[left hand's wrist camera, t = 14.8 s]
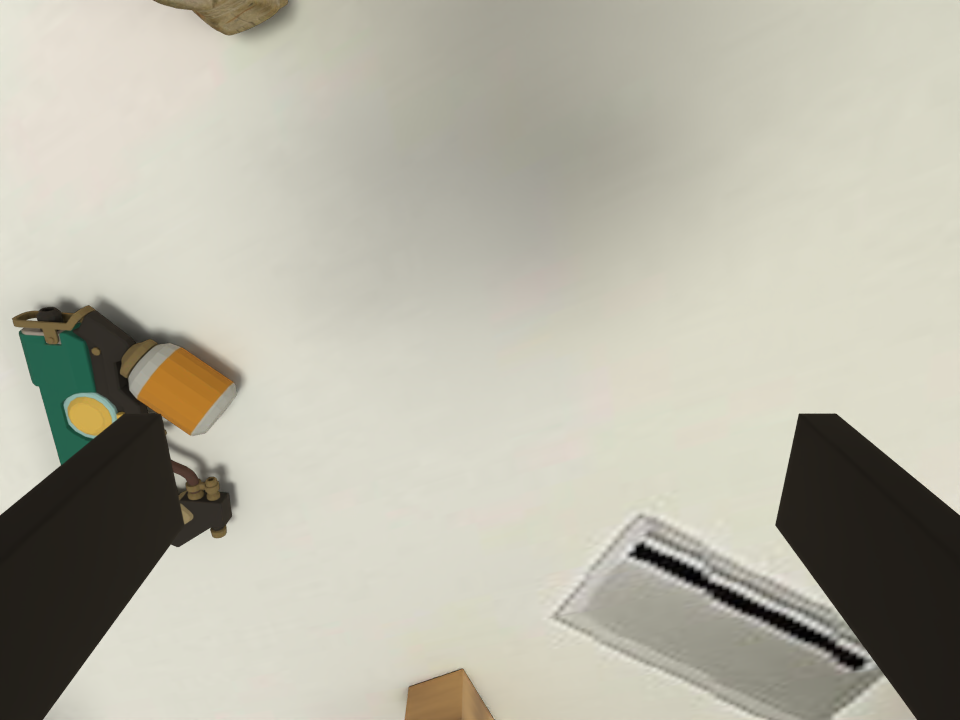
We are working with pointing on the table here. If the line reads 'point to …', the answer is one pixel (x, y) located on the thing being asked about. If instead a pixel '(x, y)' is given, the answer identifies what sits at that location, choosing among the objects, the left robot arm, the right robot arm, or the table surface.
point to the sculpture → (230, 12)
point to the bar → (446, 700)
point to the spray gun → (125, 394)
